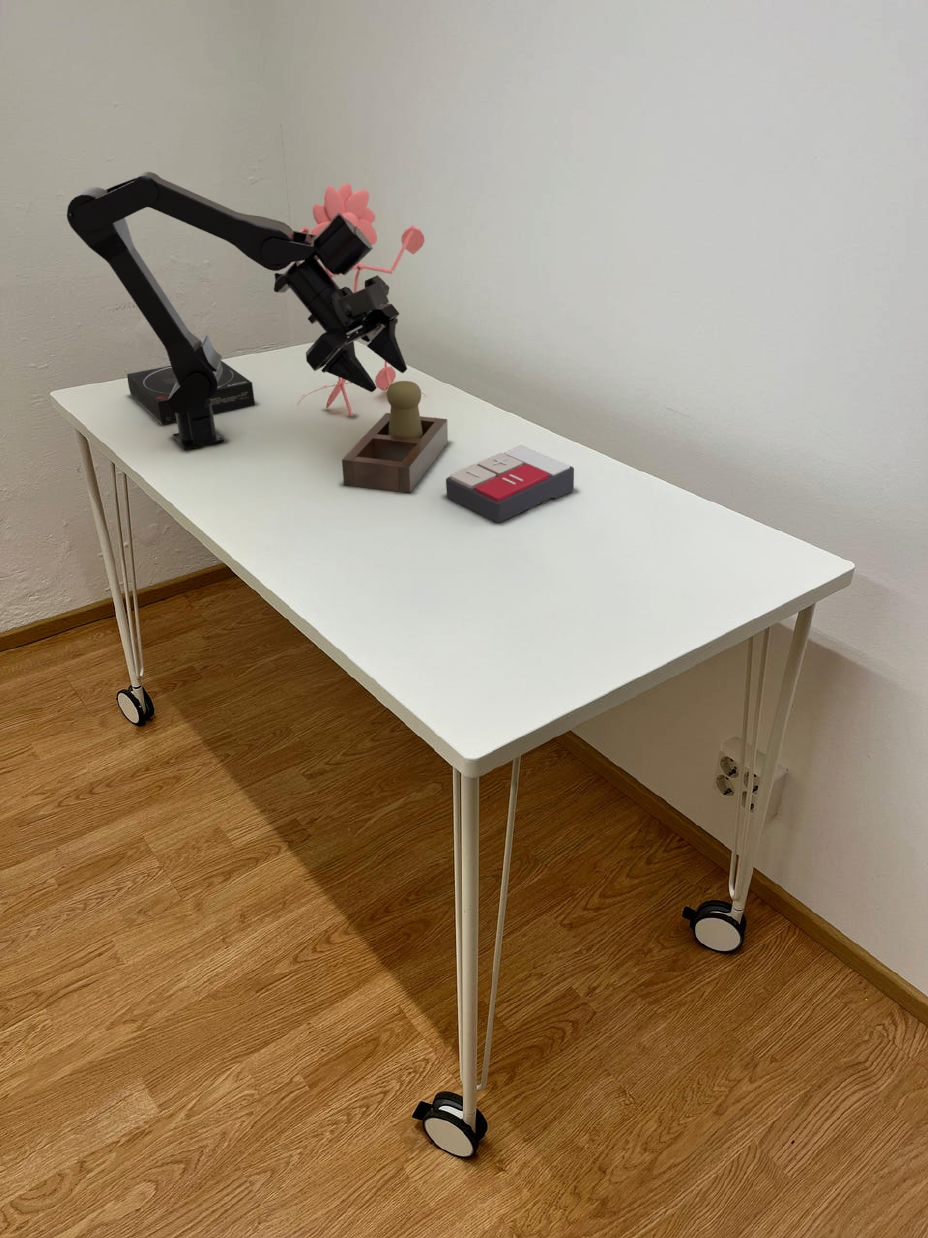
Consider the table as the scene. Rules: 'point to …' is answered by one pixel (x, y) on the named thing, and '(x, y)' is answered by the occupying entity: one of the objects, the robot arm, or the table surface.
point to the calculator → (510, 483)
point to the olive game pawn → (404, 410)
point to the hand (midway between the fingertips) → (390, 380)
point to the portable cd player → (159, 383)
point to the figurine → (361, 217)
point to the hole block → (394, 456)
